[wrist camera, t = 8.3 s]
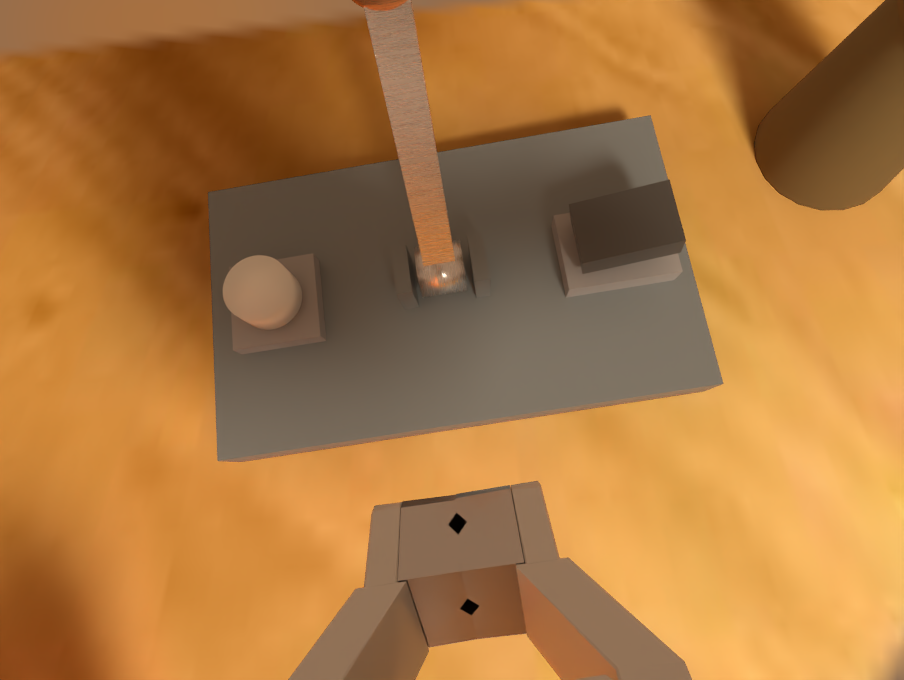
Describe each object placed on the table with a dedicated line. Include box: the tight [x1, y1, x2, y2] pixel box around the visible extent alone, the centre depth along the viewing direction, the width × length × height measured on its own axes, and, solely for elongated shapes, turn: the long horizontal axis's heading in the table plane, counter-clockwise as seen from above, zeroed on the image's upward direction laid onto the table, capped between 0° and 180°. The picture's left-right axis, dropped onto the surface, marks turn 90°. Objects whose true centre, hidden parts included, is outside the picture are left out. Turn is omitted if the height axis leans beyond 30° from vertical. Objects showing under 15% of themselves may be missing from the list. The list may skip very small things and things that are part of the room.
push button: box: [223, 255, 302, 330], centre depth 21 cm, size 3×3×1 cm
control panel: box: [208, 115, 723, 462], centre depth 23 cm, size 20×12×4 cm, turn 98°
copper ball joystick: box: [352, 0, 468, 297], centre depth 17 cm, size 2×2×13 cm
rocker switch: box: [569, 180, 686, 274], centre depth 20 cm, size 4×2×1 cm, turn 99°
